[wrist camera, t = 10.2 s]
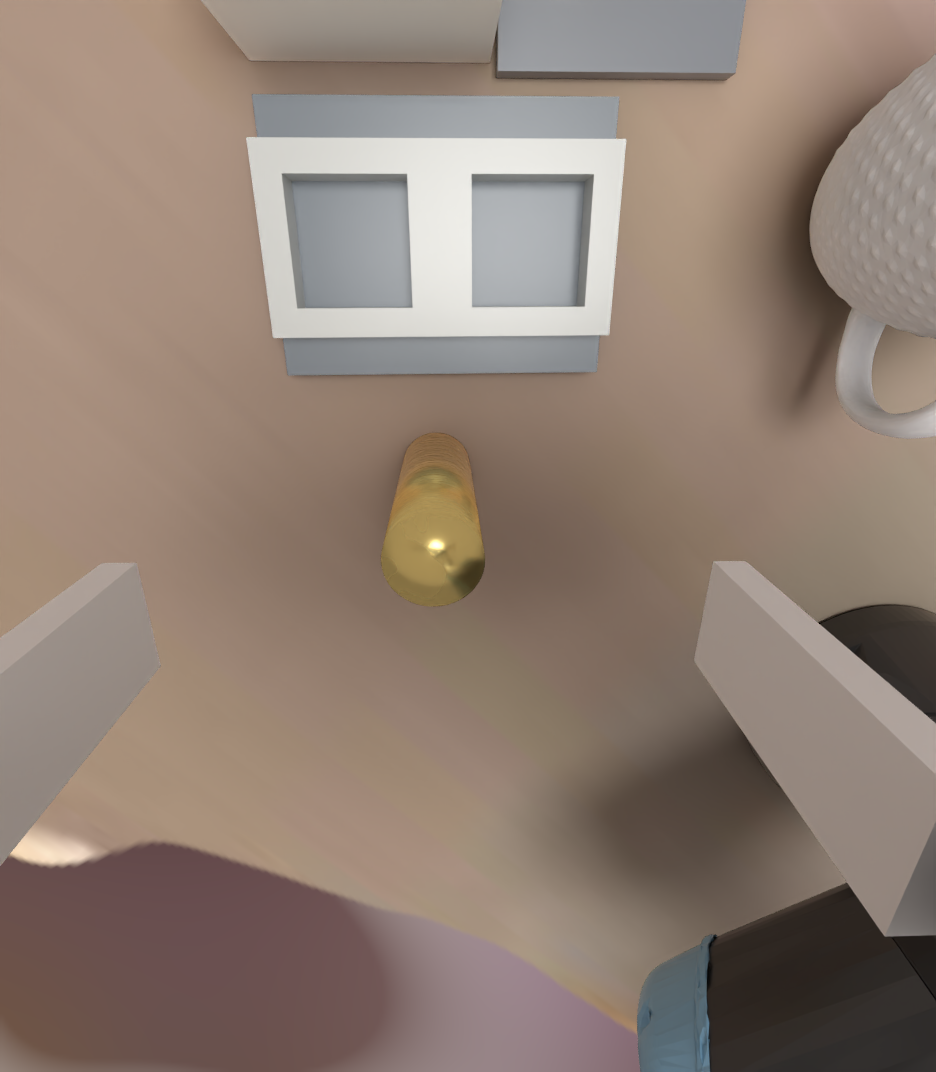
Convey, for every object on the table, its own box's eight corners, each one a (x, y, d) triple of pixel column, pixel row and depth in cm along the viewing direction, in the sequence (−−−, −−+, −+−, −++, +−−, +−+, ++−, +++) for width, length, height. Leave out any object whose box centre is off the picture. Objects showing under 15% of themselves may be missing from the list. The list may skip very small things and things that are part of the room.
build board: (589, 368, 29) (605, 376, 26) (294, 371, 28) (278, 379, 25) (610, 107, 24) (631, 83, 22) (261, 104, 24) (238, 80, 21)
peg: (469, 496, 31) (484, 605, 20) (404, 497, 31) (384, 607, 20) (469, 432, 30) (485, 511, 19) (401, 433, 30) (377, 513, 19)
